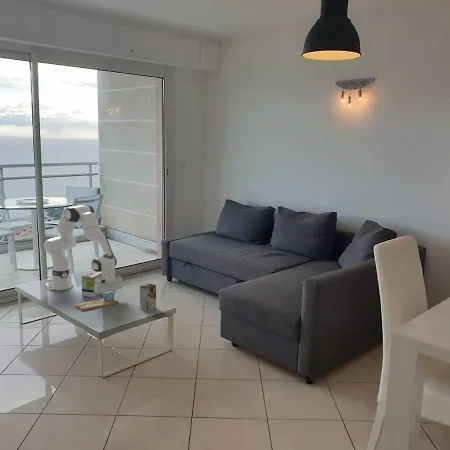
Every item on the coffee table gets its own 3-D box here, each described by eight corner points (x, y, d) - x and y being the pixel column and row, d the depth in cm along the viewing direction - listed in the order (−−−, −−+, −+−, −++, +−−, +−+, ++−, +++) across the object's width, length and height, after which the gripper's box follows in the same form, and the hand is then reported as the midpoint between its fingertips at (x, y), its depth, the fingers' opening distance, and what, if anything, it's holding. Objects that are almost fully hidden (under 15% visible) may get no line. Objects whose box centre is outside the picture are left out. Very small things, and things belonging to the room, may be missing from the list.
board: (74, 306, 304) (74, 304, 303) (109, 298, 321) (109, 296, 321) (83, 311, 295) (83, 309, 295) (118, 303, 313) (118, 300, 313)
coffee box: (149, 305, 310) (149, 283, 308) (156, 307, 307) (156, 285, 304) (139, 309, 303) (139, 286, 300) (146, 311, 299) (146, 288, 297)
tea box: (94, 297, 323) (94, 277, 320) (81, 296, 324) (80, 276, 322) (104, 291, 337) (103, 271, 335) (91, 289, 339) (91, 270, 336)
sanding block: (103, 299, 314) (103, 292, 314) (109, 297, 318) (109, 290, 317) (107, 301, 310) (107, 294, 309) (114, 300, 314) (114, 293, 313)
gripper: (119, 274, 321) (119, 293, 323) (92, 279, 307) (93, 299, 309) (124, 276, 316) (124, 295, 319) (97, 281, 302) (97, 301, 305)
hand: (108, 297), depth 314 cm, fingers closed on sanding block, 5 cm apart
